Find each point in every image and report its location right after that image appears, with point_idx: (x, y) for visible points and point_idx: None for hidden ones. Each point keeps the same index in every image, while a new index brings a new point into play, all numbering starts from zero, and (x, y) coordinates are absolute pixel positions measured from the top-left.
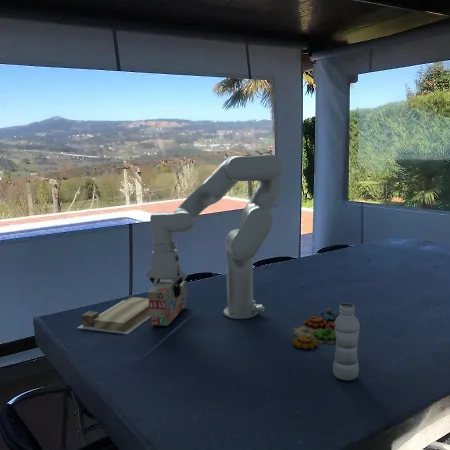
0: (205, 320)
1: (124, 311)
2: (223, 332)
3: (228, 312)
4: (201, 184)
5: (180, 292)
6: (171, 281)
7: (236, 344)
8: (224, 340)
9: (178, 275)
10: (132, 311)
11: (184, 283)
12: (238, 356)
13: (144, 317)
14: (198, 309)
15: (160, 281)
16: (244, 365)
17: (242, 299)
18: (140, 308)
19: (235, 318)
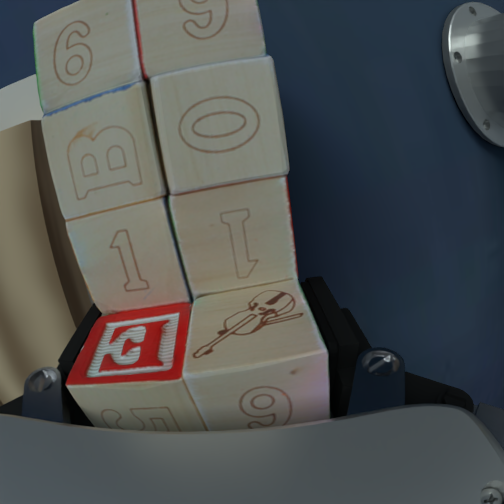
0: (404, 188)
1: (25, 362)
2: (479, 279)
3: (479, 104)
4: None
5: (347, 309)
6: (250, 398)
7: (501, 331)
8: (480, 327)
9: (405, 418)
10: (50, 355)
11: (250, 3)
12: (496, 374)
13: (89, 295)
14: (301, 37)
15: (90, 418)
16: (498, 392)
17: None
18: (46, 308)
19: (500, 146)
